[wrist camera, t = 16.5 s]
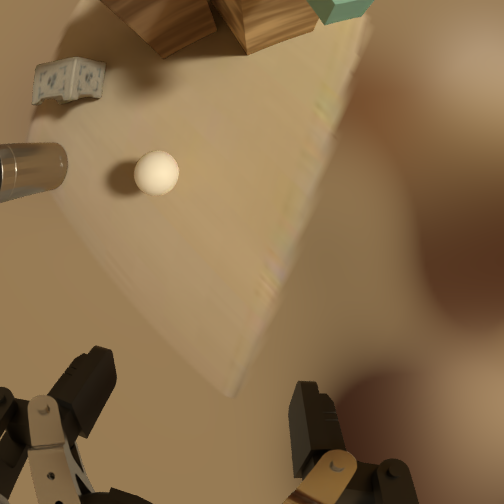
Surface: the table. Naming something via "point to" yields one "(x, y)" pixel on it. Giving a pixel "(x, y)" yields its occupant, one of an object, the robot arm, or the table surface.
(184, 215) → the table surface
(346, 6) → the bar
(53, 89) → the grey speckled block
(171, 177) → the lightbulb
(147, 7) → the walnut stand
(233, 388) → the table surface
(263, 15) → the oak block
